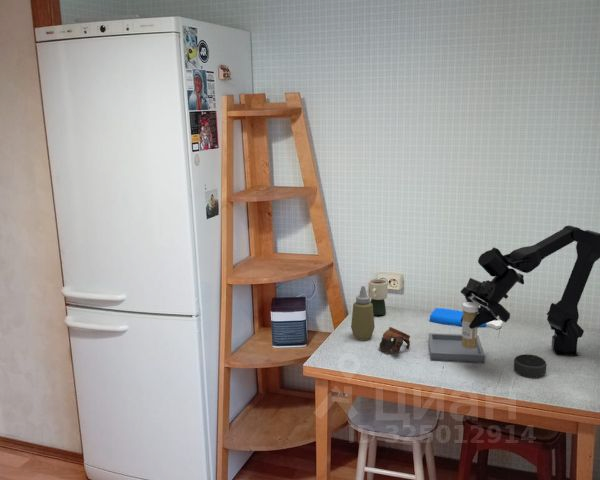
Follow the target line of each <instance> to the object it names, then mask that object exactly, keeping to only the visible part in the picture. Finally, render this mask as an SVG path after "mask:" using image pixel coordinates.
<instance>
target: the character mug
mask: <svg viewBox="0 0 600 480" xmlns="http://www.w3.org/2000/svg"><path fill="white" fill-rule="evenodd" d="M388 282H389V281H388V280H386V279H383V278H371V279H369V280H368V287H367V289H368V292H367V296H369V297H370V302H371V303H372V304H373V314H374V316H384V315H385V314H387V310H386V301H385V300H386V299H388V286H389V285H388V284H389V283H388Z"/></svg>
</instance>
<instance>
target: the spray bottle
mask: <svg viewBox="0 0 600 480" xmlns="http://www.w3.org/2000/svg"><path fill="white" fill-rule="evenodd" d="M462 316H463V310H462V311H461V310H458V309H451V308H450V309H449V308H441V307H436V308H434V309H433V311H432V312H431V313H430V315H429V321H430V322H431V321H432V323H437V324H441V323H442V324H441V325H447V324H448V325H447V326H454V325H455V326H456V327H462V322H461V318H462ZM502 325H503V321H502V320H500V319H498V320H493V321H490V322H488V323H485V324H482V325H480V326H478V327H477V328H479V327H480V328H481V327H482V328H485V327H488V328H493V329H495V330H498V329H501V328H502ZM455 326H454V327H455Z"/></svg>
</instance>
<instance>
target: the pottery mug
mask: <svg viewBox="0 0 600 480" xmlns="http://www.w3.org/2000/svg"><path fill="white" fill-rule="evenodd" d="M410 338H411V336H410V335H409V334H408V333H405V332H403V331H401V330H399V329H396V328H394V327H392V326H389V328H388V329H387V330H386V331H385V332H383V334H382V338H381V340H380V341H381V342H379V344H378V345H379V347H378V350H380V351H381V352H383V353H385V354H387V355H390V354H391V352H393V353H395V354H398V353H399V352H400V351H401V348H402V346H403V344H404V343H406V344H407V345H406V349H407V350H409V349H410V347H411V341H410Z"/></svg>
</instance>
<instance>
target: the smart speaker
mask: <svg viewBox="0 0 600 480" xmlns="http://www.w3.org/2000/svg"><path fill="white" fill-rule="evenodd" d="M547 365H548V364H547V362H546V360H544V358H542V357H541V356H538V355H534V354H526V353H525V354H519V355H517V356H516V357H515V358H514V359H513V369H514V372H516V373H517V374H519V375H520V376H522V377H525V378H541V377H543V376H545V374H546V373H547Z"/></svg>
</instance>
